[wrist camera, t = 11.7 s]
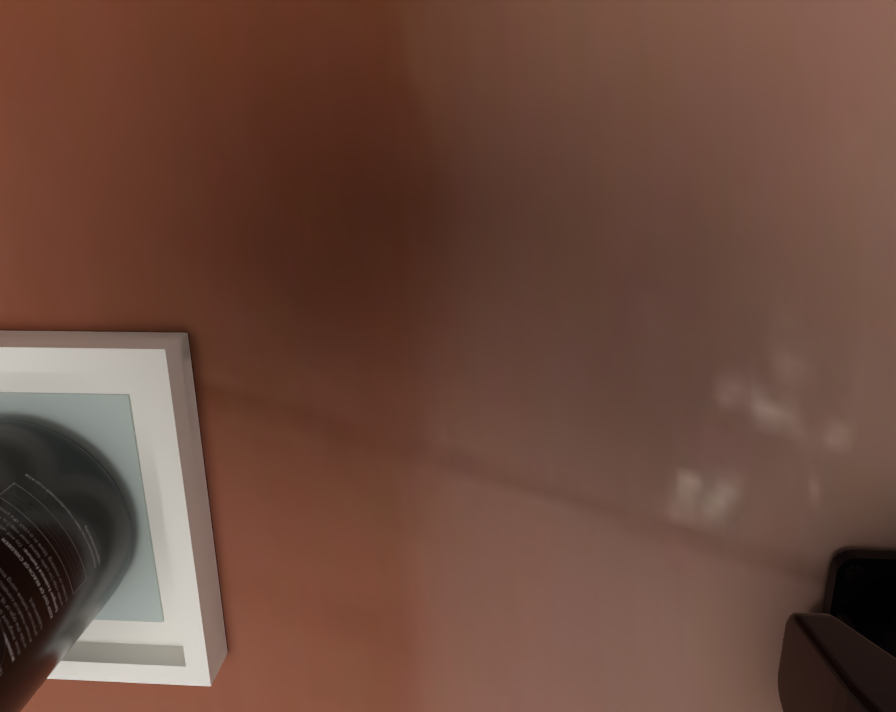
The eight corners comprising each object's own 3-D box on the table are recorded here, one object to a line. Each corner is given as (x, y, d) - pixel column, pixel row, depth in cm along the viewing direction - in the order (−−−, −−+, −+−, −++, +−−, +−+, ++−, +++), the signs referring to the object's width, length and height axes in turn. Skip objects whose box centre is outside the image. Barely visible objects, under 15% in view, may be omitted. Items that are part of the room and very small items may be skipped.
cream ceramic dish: (187, 332, 22) (164, 349, 20) (227, 653, 25) (210, 686, 24) (-176, 328, 23) (-222, 344, 21) (-89, 639, 26) (-123, 670, 25)
